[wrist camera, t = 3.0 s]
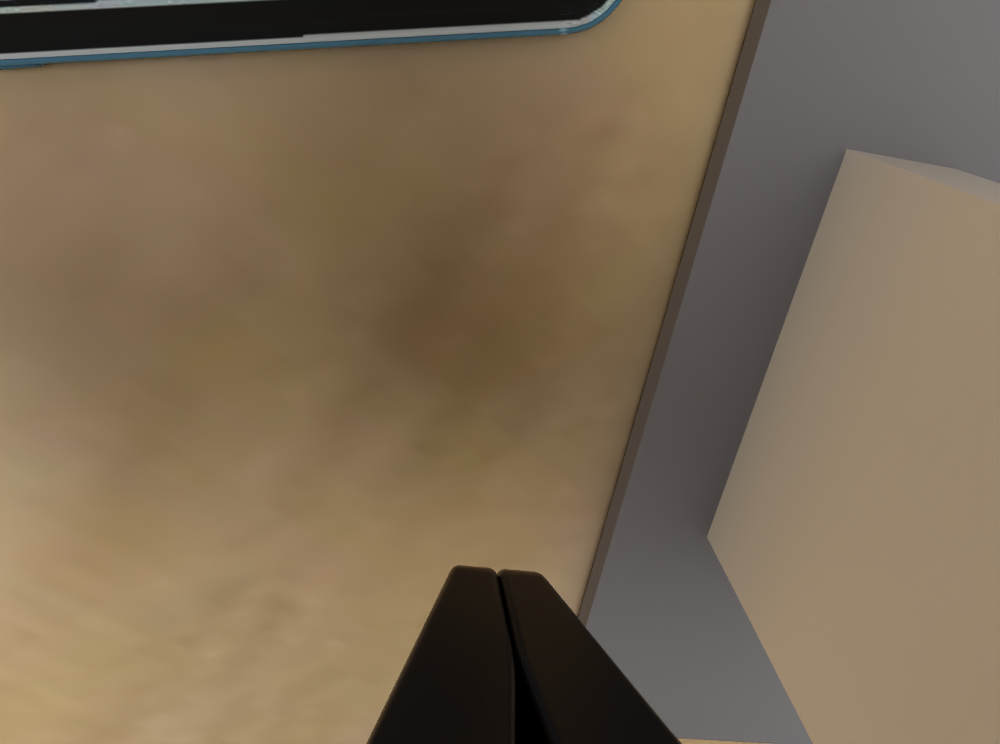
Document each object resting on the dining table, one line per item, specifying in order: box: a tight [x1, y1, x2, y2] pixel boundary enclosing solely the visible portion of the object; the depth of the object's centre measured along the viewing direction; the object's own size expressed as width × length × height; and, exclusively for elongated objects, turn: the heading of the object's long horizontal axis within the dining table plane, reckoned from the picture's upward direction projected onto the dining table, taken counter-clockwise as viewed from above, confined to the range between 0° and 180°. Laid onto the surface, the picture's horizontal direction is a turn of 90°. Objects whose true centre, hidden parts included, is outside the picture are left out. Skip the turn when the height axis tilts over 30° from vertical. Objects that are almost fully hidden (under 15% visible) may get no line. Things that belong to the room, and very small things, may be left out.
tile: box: [707, 149, 1000, 744], centre depth 10 cm, size 8×2×9 cm, turn 170°
